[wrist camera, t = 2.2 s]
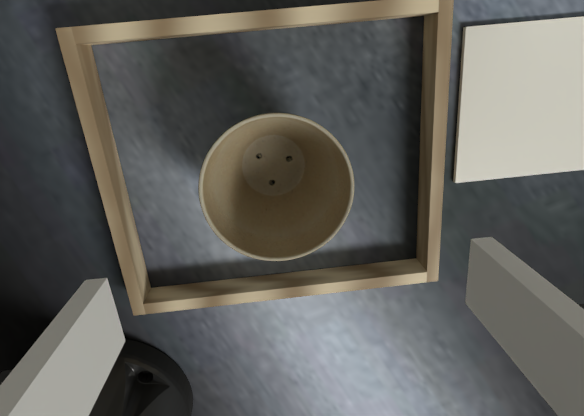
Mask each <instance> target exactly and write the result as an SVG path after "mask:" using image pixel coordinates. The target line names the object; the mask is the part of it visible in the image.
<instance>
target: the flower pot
mask: <svg viewBox="0 0 584 416" xmlns="http://www.w3.org/2000/svg"><path fill="white" fill-rule="evenodd" d="M256 156H259V157H260V159H259V158H257V157H256ZM288 156H290V158H287V157H288ZM273 180H274V182H275V183H274V184H273V183H272V181H273ZM353 196H354V177H353V171H352V167H351V164H350V161H349V158H348V156H347V154H346V152H345V150H344V149H343V147H342V146H341V145H340V143H339V142H338V141H337V140H336V138H335V137H334V136H333V135H332V134H331V133H330V132H328V131H327V130H326V129H325V128H323V127H322V126H320V125H319V124H317V123H315V122H313V121H311V120H309V119H307V118H304V117H301V116H298V115H293V114H288V113H266V114H260V115H256V116H253V117H250V118H247V119H245V120H243V121H241V122H239V123H237V124H235V125H234V126H232V127H231V128H229V129H228V130H227V131H226V132H224V133H223V134H222V135H221V136H220V137H219V138H218V139H217V140H216V142H215V143H214V144H213V145H212V147H211V148H210V150H209V151H208V153H207V155H206V157H205V159H204V162H203V164H202V168H201V171H200V176H199V200H200V204H201V208H202V211H203V214H204V216H205V218H206V220H207V222H208V224H209V226H210V227H211V229H212V230H213V231H214V233H215V234H216V235H217V236H218V237H219V238H220V239H221V240H222V241H223V242H224V243H225V244H226V245H228V246H229V247H231V248H232V249H234V250H235V251H237V252H239V253H241V254H243V255H246V256H248V257H252V258H255V259H259V260H265V261H285V260H292V259H296V258H299V257H302V256H305V255H308V254H310V253H312V252H314V251H316V250H317V249H319V248H321V247H322V246H324V245H325V244H326V243H327V242H328V241H330V240H331V239H332V238H333V237H334V236H335V235H336V233H337V232H338V231H339V230H340V228H341V227H342V225H343V224H344V222H345V220H346V218H347V216H348V214H349V211H350V209H351V206H352V202H353Z"/></svg>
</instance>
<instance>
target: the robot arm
mask: <svg viewBox="0 0 584 416" xmlns="http://www.w3.org/2000/svg"><path fill="white" fill-rule="evenodd" d="M465 303H466V304H467V306H468V307H469V308H470V309H471V310H472V312H473V313H474V314H475V315H476V316H477V318H478V319H479V320H480V321H481V323H482V324H483V325H484V326H485V327H486V329H487V330H488V331H489V332H490V333H491V335H492V336H493V337H494V338H495V340H496V341H497V342H498V343H499V344H500V346H501V347H502V348H503V349H504V351H505V352H506V353H507V354H508V355H509V357H510V358H511V359H512V360H513V361H514V363H515V364H516V365H517V366H518V368H519V369H520V370H521V371H522V372H523V374H524V375H525V376H526V377H527V378H528V380H529V381H530V382H531V383H532V385H533V386H534V387H535V388H536V389H537V391H538V392H539V393H540V394H541V395H542V397H543V398H544V399H545V400H546V402H547V403H548V404H549V405H550V406H551V408H552V409H553V410H554V411H555V413H556V414H557V415H558V416H584V304H580V305H578V304H576V303H575V302H574V301H573V300H571V299H570V298H569V297H568V296H566V295H565V294H564V293H562V292H561V291H560V290H559V289H557V288H556V287H555V286H553V285H552V284H551V283H550V282H548V281H547V280H546V279H545V278H543V277H542V276H541V275H539V274H538V273H537V272H536V271H534V270H533V269H532V268H531V267H529V266H528V265H527V264H525V263H524V262H523V261H522V260H520V259H519V258H518V257H517V256H515V255H514V254H513V253H511V252H510V251H509V250H508V249H506V248H505V247H504V246H503V245H501V244H500V243H499V242H497V241H496V240H495V239H494V238H492V237H486V238H476V239H471V244H470V255H469V267H468V278H467V289H466V301H465ZM192 407H193V395H192V390H191V386H190V384H189V381H188V379H187V377H186V376H185V374H184V373H183V371H182V370H181V369H180V367H179V366H178V365H177V364H176V363H175V362H174V361H173V360H172V359H170V358H169V357H168V356H166V355H165V354H163V353H162V352H160V351H159V350H157V349H155V348H153V347H151V346H148V345H146V344H143V343H140V342H137V341H133V340H129V339H125V337H124V334H123V330H122V327H121V323H120V320H119V317H118V313H117V310H116V306H115V303H114V300H113V296H112V293H111V289H110V286H109V282H108V279H107V278H101V279H91V280H85V281H84V282H83V284H82V285H81V286H80V287H79V289H78V290H77V291H76V292H75V293H74V295H73V296H72V297H71V298H70V300H69V301H68V302H67V303H66V305H65V306H64V307H63V308H62V310H61V311H60V312H59V313H58V315H57V316H56V317H55V318H54V319H53V321H52V322H51V323H50V324H49V326H48V327H47V328H46V329H45V331H44V332H43V333H42V334H41V336H40V337H39V338H38V339H37V341H36V342H35V343H34V344H33V345H32V347H31V348H30V349H29V350H28V352H27V353H26V354H25V355H24V357H23V358H22V359H21V360H20V362H19V363H18V364H17V365H16V367H15V368H14V369H13V370H6V371H2V372H1V373H0V416H191V412H192Z"/></svg>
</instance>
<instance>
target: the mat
mask: <svg viewBox="0 0 584 416" xmlns="http://www.w3.org/2000/svg"><path fill="white" fill-rule="evenodd" d="M576 170H584V16H582V17H571V18H560V19H549V20H537V21H526V22H515V23H504V24H492V25H481V26H470V27H463V39H462V55H461V70H460V86H459V101H458V116H457V132H456V147H455V163H454V178H453V182H455V183H461V182H470V181H480V180H489V179H499V178H509V177H518V176H528V175H537V174H547V173H556V172H566V171H576Z"/></svg>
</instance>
